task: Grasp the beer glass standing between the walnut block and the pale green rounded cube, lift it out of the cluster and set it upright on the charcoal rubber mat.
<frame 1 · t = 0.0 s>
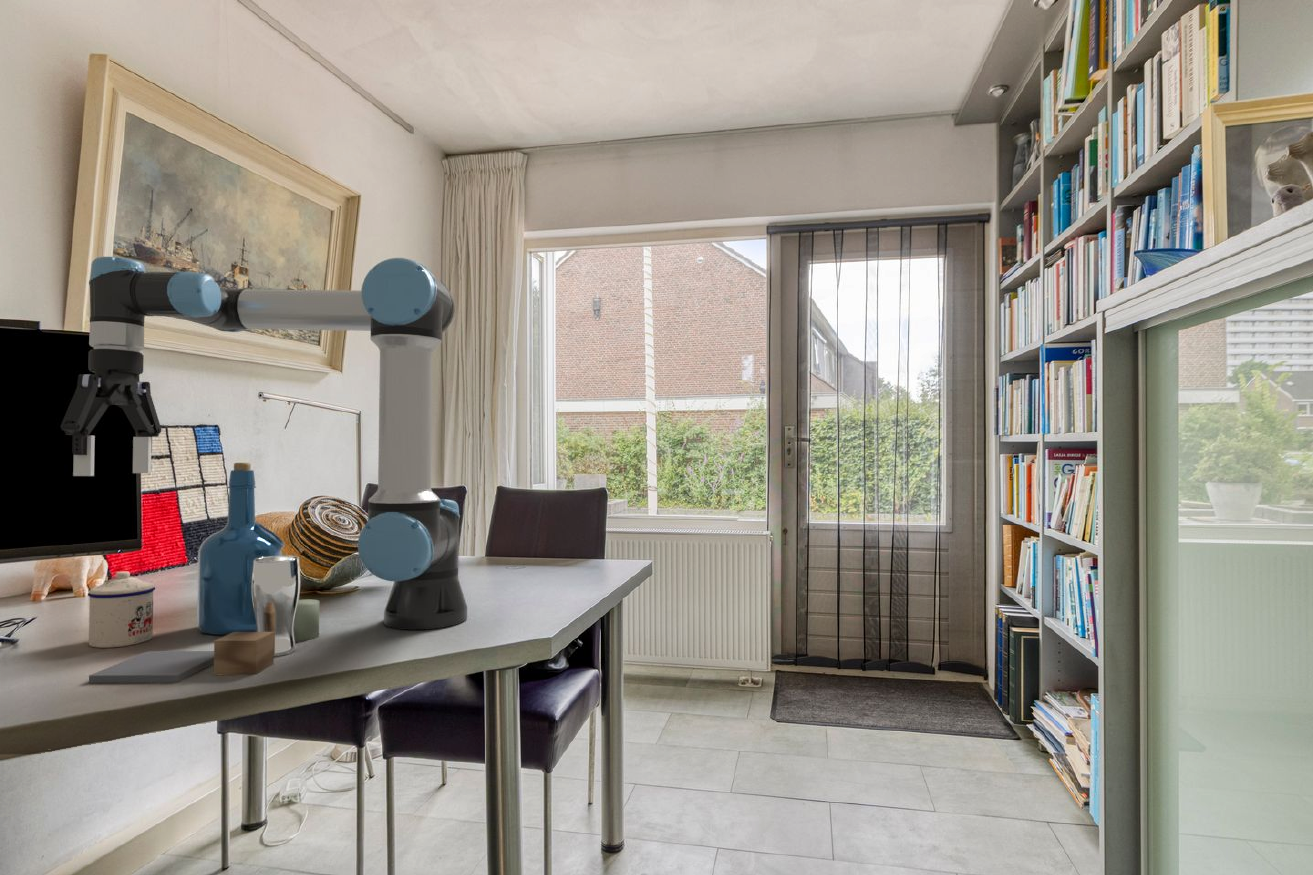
hand: (114, 474, 122), 28 cm above the table, fingers open, 13 cm apart
walnut block: (244, 670, 106), on the table
beer glass: (274, 653, 115), on the table
wine bottle: (241, 628, 130), on the table
charcoal mat: (161, 669, 105), on the table
teacup with lid: (125, 640, 122), on the table
pale green rounded cube: (301, 637, 124), on the table
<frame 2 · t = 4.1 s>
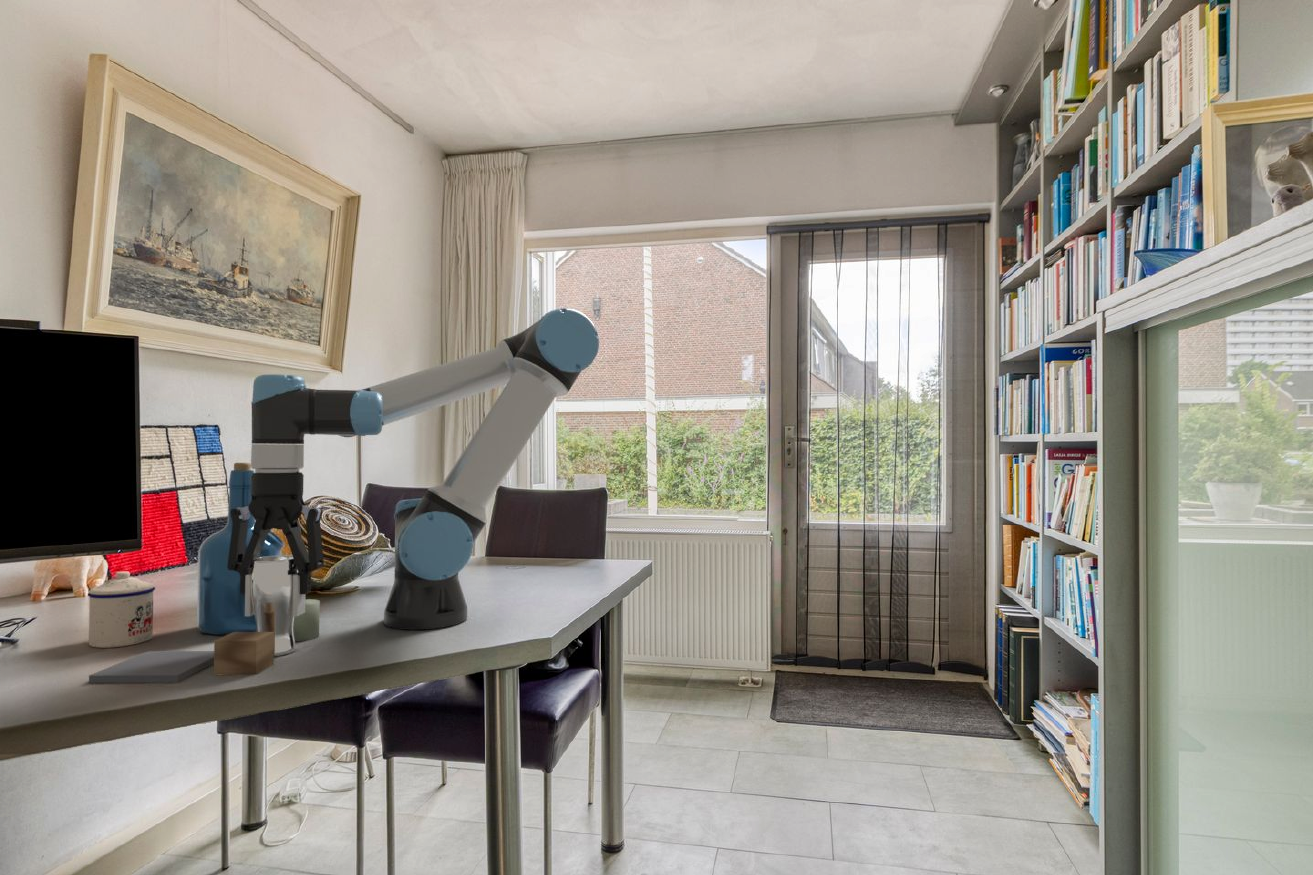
hand: (275, 614, 115), 6 cm above the table, fingers closed on beer glass, 7 cm apart
beer glass: (274, 652, 115), on the table, touching gripper
everything else where it was.
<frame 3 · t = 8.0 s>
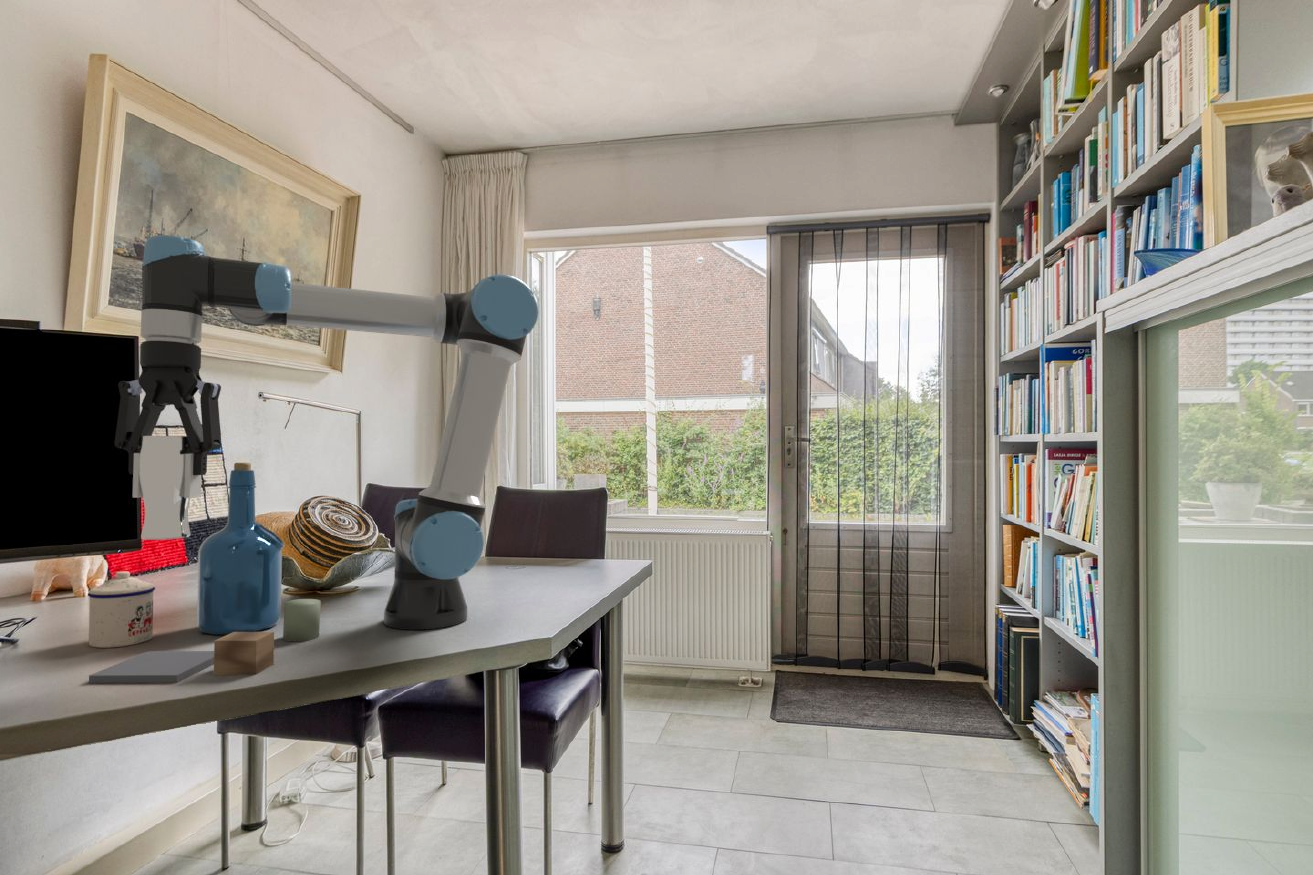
hand: (167, 497, 106), 25 cm above the table, fingers closed on beer glass, 7 cm apart
beer glass: (166, 538, 106), point 19 cm above the table, touching gripper
everything else where it was.
when the fingers open (7 cm above the table, at t = 11.7 s): beer glass stays where it is, resting on charcoal mat.
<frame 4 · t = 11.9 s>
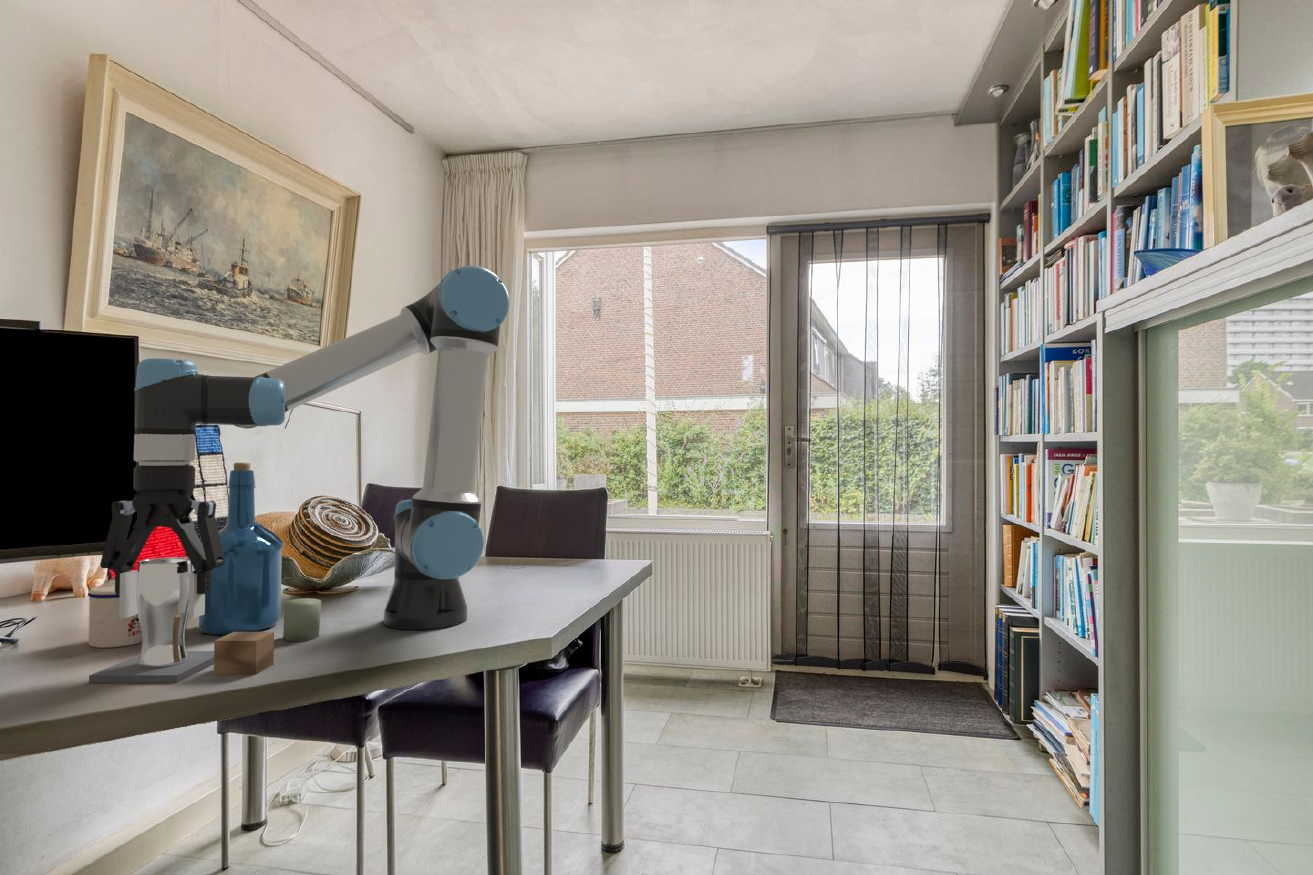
hand: (162, 616, 106), 8 cm above the table, fingers open, 9 cm apart
beer glass: (163, 663, 106), point 1 cm above the table, touching charcoal mat
everything else where it was.
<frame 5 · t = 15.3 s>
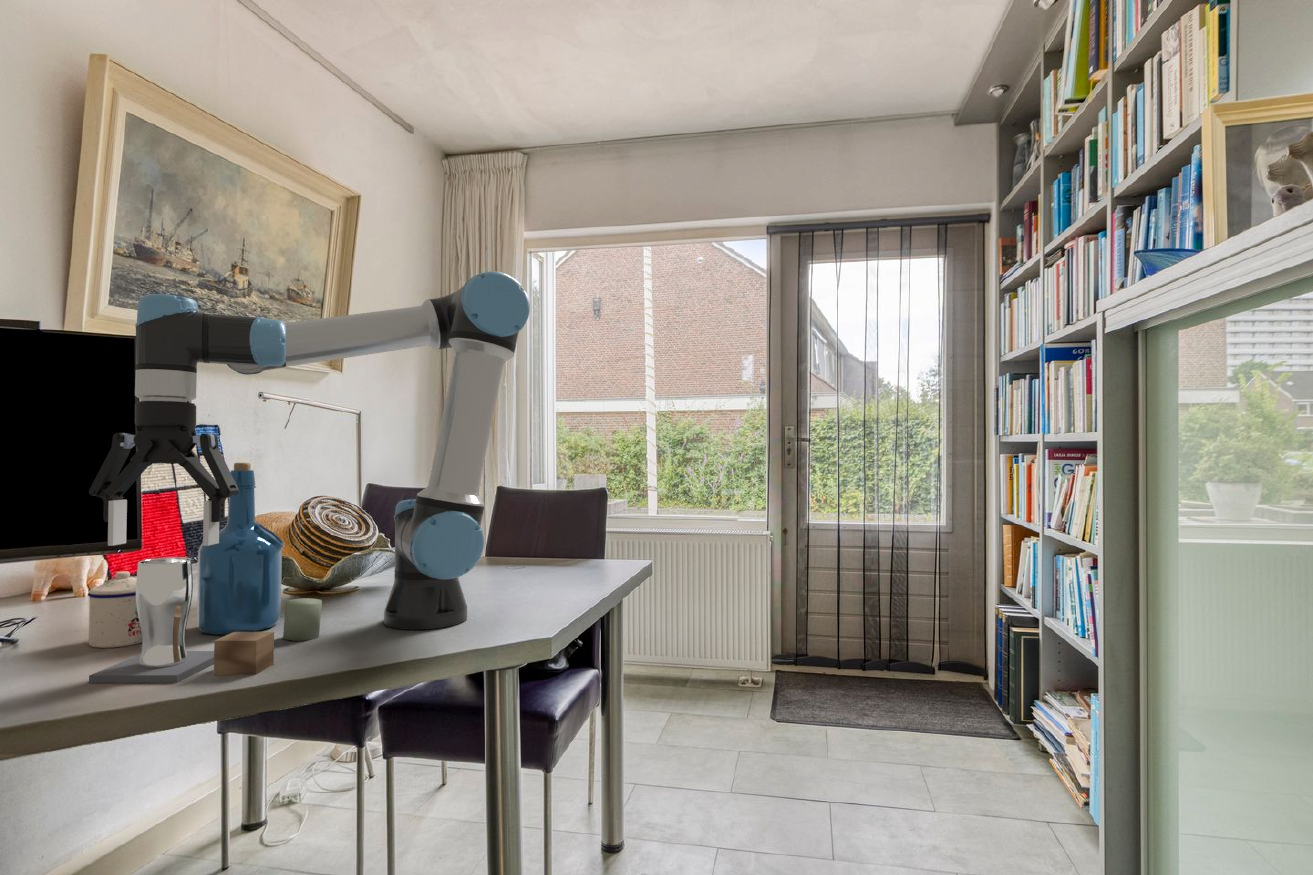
hand: (164, 544, 106), 18 cm above the table, fingers open, 13 cm apart
nothing on the table moved.
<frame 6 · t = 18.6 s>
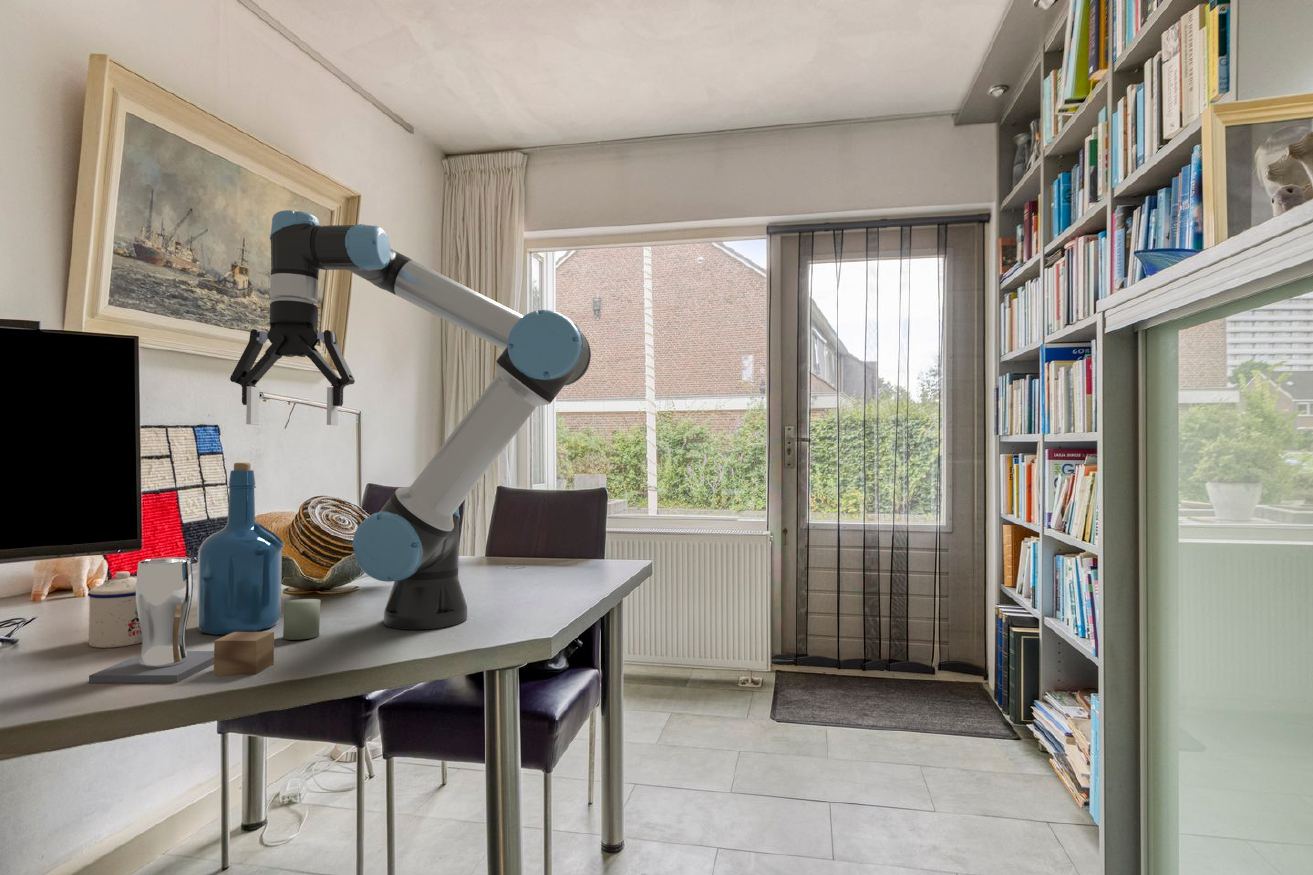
hand: (292, 425, 124), 37 cm above the table, fingers open, 13 cm apart
nothing on the table moved.
at the end: beer glass inside the target area on the charcoal mat (0.2 cm from its centre), point 0.8 cm above the charcoal mat's base; beer glass tilted 0°; the gripper is holding nothing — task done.
